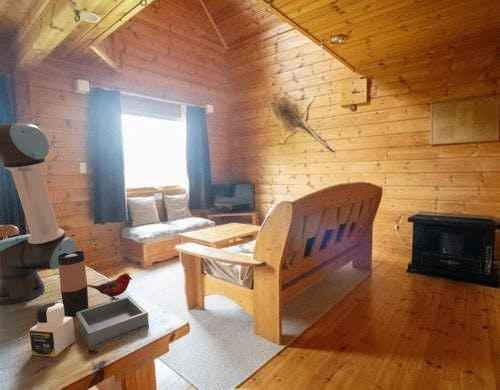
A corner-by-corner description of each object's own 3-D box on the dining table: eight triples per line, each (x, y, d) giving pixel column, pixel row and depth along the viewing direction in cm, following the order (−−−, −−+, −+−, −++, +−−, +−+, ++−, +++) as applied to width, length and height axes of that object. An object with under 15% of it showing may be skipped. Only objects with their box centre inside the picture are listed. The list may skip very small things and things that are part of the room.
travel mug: (77, 318, 97) (71, 258, 95) (57, 316, 98) (51, 257, 96) (94, 307, 104) (89, 251, 102) (75, 305, 106) (70, 250, 104)
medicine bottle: (31, 354, 78) (26, 311, 77) (53, 339, 85) (49, 298, 84) (55, 357, 77) (50, 312, 76) (75, 341, 84) (71, 300, 83)
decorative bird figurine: (132, 301, 108) (130, 274, 107) (83, 302, 108) (81, 276, 107) (135, 297, 110) (133, 271, 109) (88, 299, 111) (85, 273, 110)
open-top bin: (77, 326, 92) (75, 312, 91) (130, 308, 102) (129, 296, 102) (90, 349, 80) (88, 333, 79) (148, 326, 90) (147, 312, 90)
